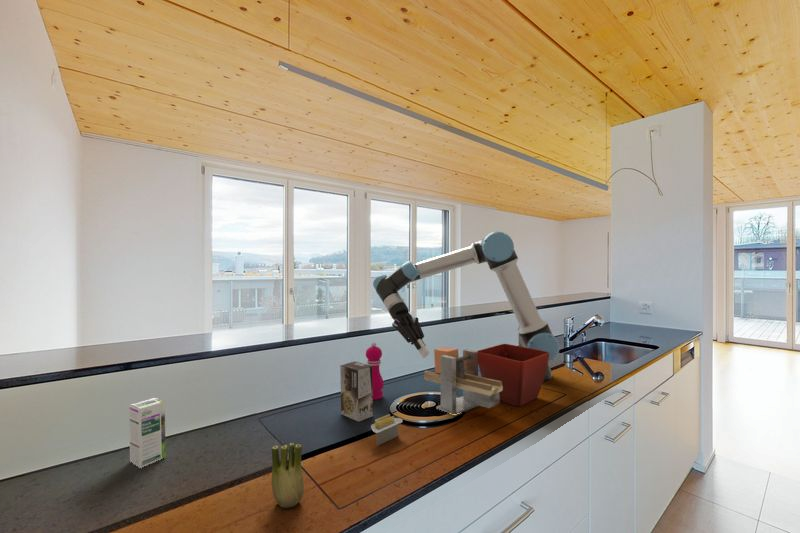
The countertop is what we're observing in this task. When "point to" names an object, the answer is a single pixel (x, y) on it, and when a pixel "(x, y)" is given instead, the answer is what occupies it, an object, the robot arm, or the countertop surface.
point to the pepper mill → (375, 370)
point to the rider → (443, 351)
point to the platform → (386, 428)
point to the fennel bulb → (287, 476)
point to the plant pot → (514, 371)
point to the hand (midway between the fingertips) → (426, 355)
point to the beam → (472, 384)
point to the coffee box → (356, 391)
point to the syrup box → (147, 432)
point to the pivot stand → (449, 383)
